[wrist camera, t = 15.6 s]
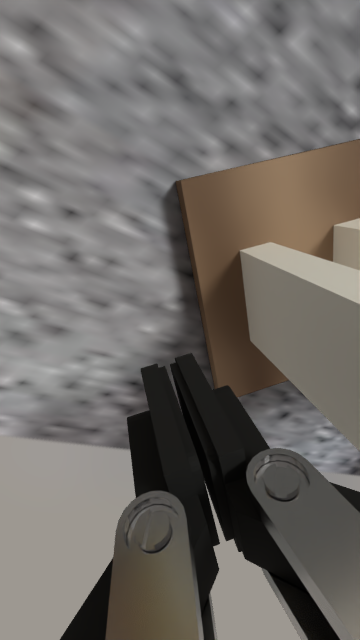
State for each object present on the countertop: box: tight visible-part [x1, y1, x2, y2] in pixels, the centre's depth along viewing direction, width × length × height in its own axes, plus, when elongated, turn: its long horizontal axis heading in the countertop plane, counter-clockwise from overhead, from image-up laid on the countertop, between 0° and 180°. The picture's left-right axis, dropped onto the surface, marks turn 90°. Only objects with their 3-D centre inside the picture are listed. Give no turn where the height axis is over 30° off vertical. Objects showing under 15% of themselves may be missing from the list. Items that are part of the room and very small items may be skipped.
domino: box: [240, 242, 360, 451], centre depth 11 cm, size 2×5×10 cm, turn 12°
